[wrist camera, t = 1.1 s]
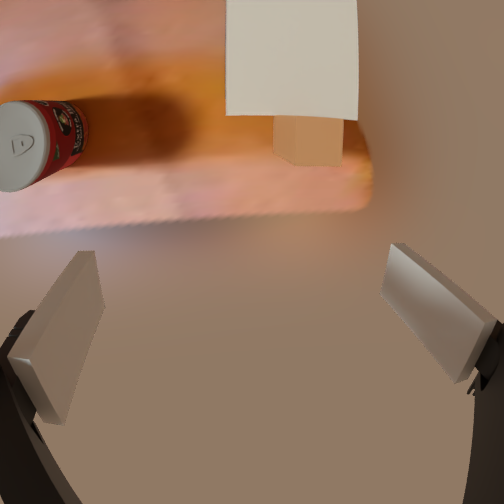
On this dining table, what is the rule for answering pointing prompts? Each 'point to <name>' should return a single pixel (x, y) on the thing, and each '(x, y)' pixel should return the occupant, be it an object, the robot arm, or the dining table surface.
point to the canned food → (38, 140)
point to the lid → (295, 72)
